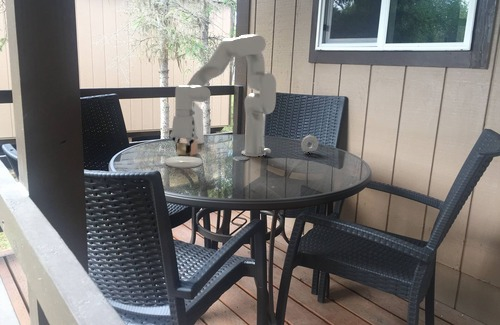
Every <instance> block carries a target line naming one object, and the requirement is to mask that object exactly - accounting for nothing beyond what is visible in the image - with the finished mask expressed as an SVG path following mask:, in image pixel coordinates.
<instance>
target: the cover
mask: <svg viewBox="0 0 500 325" xmlns="http://www.w3.org/2000/svg"><path fill="white" fill-rule="evenodd" d="M180 142H187V140H186V139H183V140H180ZM197 142H198V140H196V141H194V142H193V143H192V144H191V152H190V153H189V157H194V156H195V155H197V154H198V144H197ZM177 155H181V154H177Z"/></svg>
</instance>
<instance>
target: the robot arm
mask: <svg viewBox="0 0 500 325" xmlns="http://www.w3.org/2000/svg"><path fill="white" fill-rule="evenodd" d="M266 44H267V43H266V39H265V38H264V37H263V35H261V34H242V35H240V36H239V37H228V38H227V37H226V38H224V39H222V40H221V41H220V43H219V44H218V45H217V47H216V49H214V52H213V53H212V55H211V57H210V58H209V60H207V62H206V63H205V64H204V65H203V66H201V67H200V69H198V70H197V71H196V72H195V73H194V74H193V75H192V77H191V78H190V80H189V81H188V83H187V85H185V84H184V85H183V84H181V85H180V84H179V85H176V86H175V93H174V94H175V97H174V98H175V101H174V102H175V107H174V109H175V110H174V111H175V115H173V118H172V126H171V127H172V128H171V132H170V134H169V135H168V136H169V138H171V139H172V141H173V142H174V144H175V150H176V151H175V152H176V153H177V143H179V142H180V139H181V138H186V140H187V145H186V154H187V155H189V154H190V152H191V144H192V143H193V142H194V141H196V140H197V139H198V137H197V135H196V129H195V120H194V116H192V115H193V114H195V112H194V111H193V110H192V102H193V101H195V102H196V103H197V102H198V103H205V102H207V101H209V100H210V98H211V94H212V93H211V91H210V89H209V88H208V87H207V86H205V85H206V84H207V83H208V82H210V81H211V80H213V79H214V78H217V77H219V76H221V75H222V74H224V72H225V70H226V68H227V67H228V66H229V64H230V62H231V61H232V59H233V58H244V57H245V59H246V62H247V86H248V88H249V89H250V90H252V91H258V92H259V93H258V92H251V93H249V94H248V95H247V96H246V97H245V98H244V110H245V112H244V113H245V133H244V150H242V151H241V155H242V154H243V155H242V156H245V157H251V158H252V157H253V158H255V157H257V158H258V156H260V157H264V156H266V154H270V153H271V152H272V150H271V149H270V148H266V146H265V145H264V133H265V117H264V115H269V114H271V113H273V112H274V110H275V107H276V102H277V81H276V78H275V76H274V74H273V73H271V72H270V71H266V68H265V67H266V66H265V57H264V54H263V53H262V52H264V50H266V49H265V48H266ZM192 137H194V138H193V139H191V138H192ZM188 153H189V154H188ZM263 155H264V156H263Z"/></svg>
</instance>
